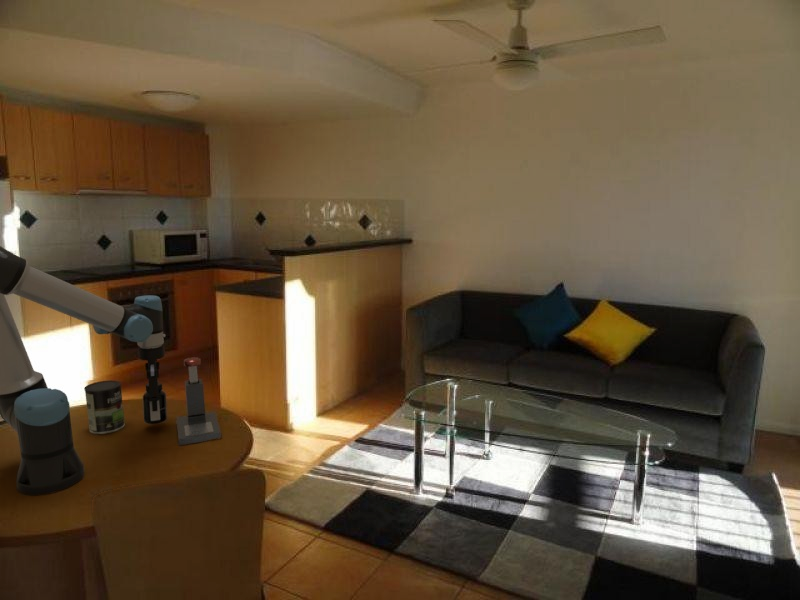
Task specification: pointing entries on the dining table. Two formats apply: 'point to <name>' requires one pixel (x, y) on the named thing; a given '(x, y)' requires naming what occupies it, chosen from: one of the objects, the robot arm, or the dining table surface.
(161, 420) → the supplement bottle
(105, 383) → the coffee can
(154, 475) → the dining table surface
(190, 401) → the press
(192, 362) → the plunger
